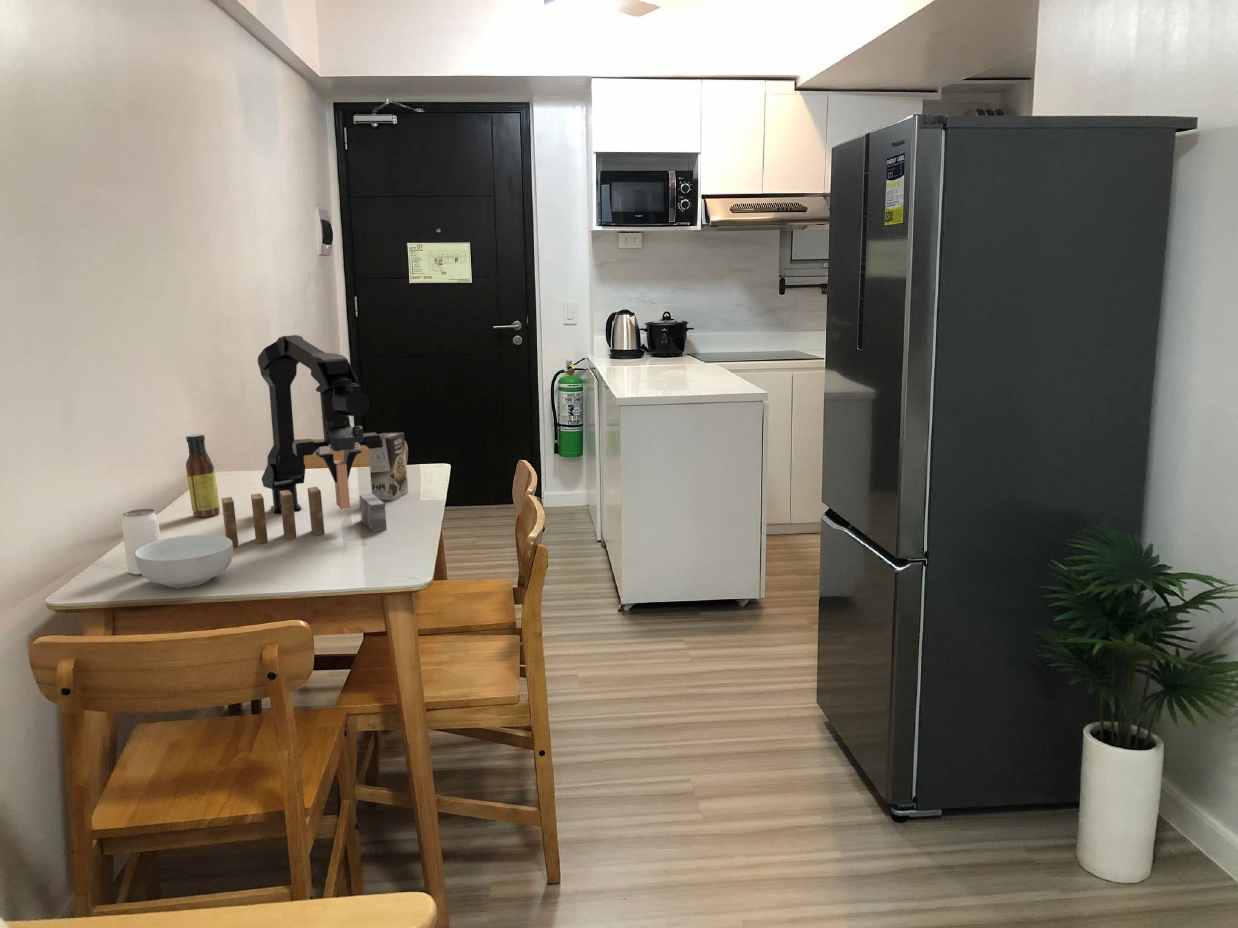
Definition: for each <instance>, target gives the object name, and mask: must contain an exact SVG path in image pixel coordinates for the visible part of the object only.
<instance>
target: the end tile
mask: <svg viewBox="0 0 1238 928" xmlns="http://www.w3.org/2000/svg"><path fill="white" fill-rule="evenodd" d="M334 465H335V470H336V475H337V483H335V482H334V489H335V498H336V499H335V500H336V506H337V507H338V508H339V509H340V510H343V509H344V510H345V509H350V508H351V503H350V501H351V500H350V492H349V490H350V489H349V478H348V477H347V465H346V463H345V462H344V460H334Z"/></svg>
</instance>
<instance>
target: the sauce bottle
mask: <svg viewBox="0 0 1238 928" xmlns="http://www.w3.org/2000/svg"><path fill="white" fill-rule="evenodd" d="M185 438H186V442H187V447H188V454H189V455H188V457H187V460H186V462H185V466H186V467H185V468H186V474H187V475H186V478H187V483H188V489H189V497H190V503H191V510H192V514H193V517H195V518H209V517H214V516H217V515H219V514H220V513H221V512H220V508H221V505H220V500H219V499H220V498H219V492H218V485H217V478H216V472H215V471H216V470H215V466H214V465H213V462H212V460H211V458H210V456H209V453H208V452H207V449H206V443H205V441H206V437H205V434H203V433H194V434H188V435H186V436H185Z"/></svg>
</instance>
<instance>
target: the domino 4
mask: <svg viewBox="0 0 1238 928" xmlns="http://www.w3.org/2000/svg"><path fill="white" fill-rule="evenodd" d="M307 496H308V498H307V499H308V507H309V516H310V518H309V519H310V526H311V527H310V528H311V532H312V534H313V535H314V536H315V537H317V536H325V533H326V532H325V521H324V513H323V502H322V501H323V500H322V491H321V489H320V488H319V487H318V486H312V487H307Z"/></svg>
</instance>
